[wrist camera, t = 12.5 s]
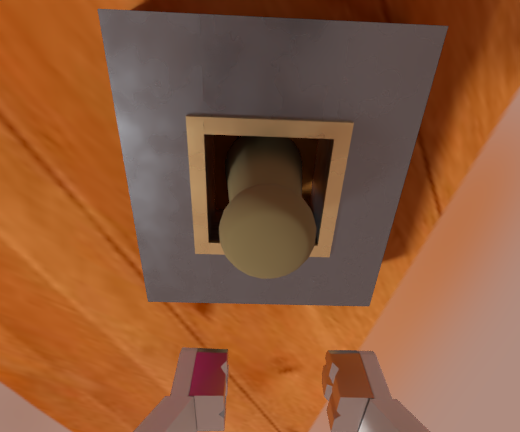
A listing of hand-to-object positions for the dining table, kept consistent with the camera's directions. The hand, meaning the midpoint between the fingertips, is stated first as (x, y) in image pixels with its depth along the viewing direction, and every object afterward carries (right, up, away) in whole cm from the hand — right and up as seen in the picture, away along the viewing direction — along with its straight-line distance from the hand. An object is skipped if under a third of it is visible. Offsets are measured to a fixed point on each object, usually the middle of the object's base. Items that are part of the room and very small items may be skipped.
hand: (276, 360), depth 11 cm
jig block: (0, +9, +15) cm, 17 cm away
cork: (0, +9, +15) cm, 17 cm away
